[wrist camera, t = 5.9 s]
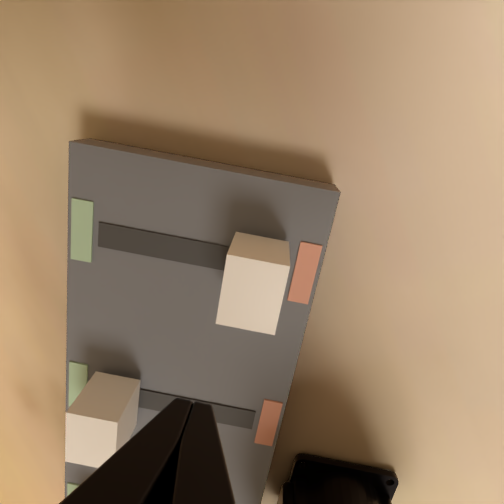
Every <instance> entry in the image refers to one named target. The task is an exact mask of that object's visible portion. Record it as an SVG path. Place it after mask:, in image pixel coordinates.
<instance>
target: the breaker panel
mask: <svg viewBox="0 0 504 504" xmlns="http://www.w3.org/2000/svg"><path fill="white" fill-rule="evenodd" d="M340 193H341V192H340V191H339V190H338V188H337V187H336V186H335V185H334V184H329V183H324V182H318V181H313V180H308V179H302V178H297V177H292V176H287V175H281V174H276V173H271V172H265V171H260V170H255V169H249V168H244V167H239V166H233V165H228V164H223V163H218V162H212V161H207V160H202V159H196V158H191V157H186V156H180V155H175V154H170V153H165V152H159V151H154V150H149V149H143V148H138V147H133V146H127V145H122V144H117V143H112V142H106V141H101V140H96V139H82V140H74V141H69V180H68V268H67V355H66V412H67V410H68V409H69V407H70V406H71V405H72V403H73V402H74V401H75V399H76V398H77V397H78V395H79V394H80V392H81V391H82V390H83V388H84V387H85V386H86V384H87V383H88V381H89V380H90V379H91V377H92V376H93V375H94V373H95V372H96V371H97V372H102V373H107V374H112V375H117V376H122V377H128V378H133V379H138V380H140V391H139V402H138V413H137V424H136V426H135V428H134V430H133V433H132V435H131V437H130V439H131V438H132V437H133V436H134V435H135V434H136V433H137V432H138V431H140V430H141V429H142V428H143V427H144V426H145V425H146V424H147V423H148V422H149V421H151V420H152V419H153V418H154V417H155V416H156V415H157V414H158V413H159V412H160V411H162V410H163V409H164V408H165V407H166V406H167V405H168V404H169V403H170V402H171V401H173V400H174V399H175V398H183V399H189V400H192V401H193V404H194V402H196V401H199V402H205V403H210V404H211V405H212V406H213V410H214V414H215V419H216V423H217V427H218V431H219V435H220V440H221V444H222V448H223V452H224V457H225V461H226V465H227V469H228V473H229V478H230V482H231V486H232V490H233V494H234V499H235V503H236V504H261V500H262V497H263V493H264V489H265V485H266V481H267V477H268V473H269V469H270V465H271V461H272V458H273V454H274V450H275V446H276V442H277V438H278V434H279V430H280V426H281V422H282V419H283V415H284V411H285V407H286V403H287V399H288V395H289V391H290V387H291V384H292V380H293V376H294V372H295V368H296V364H297V360H298V356H299V352H300V348H301V345H302V341H303V337H304V333H305V329H306V325H307V321H308V317H309V313H310V309H311V306H312V302H313V298H314V294H315V290H316V286H317V282H318V278H319V274H320V270H321V267H322V263H323V259H324V255H325V251H326V247H327V243H328V239H329V235H330V232H331V228H332V224H333V220H334V216H335V212H336V208H337V204H338V200H339V196H340ZM236 232H241V233H246V234H251V235H256V236H262V237H267V238H272V239H277V240H283V241H288V242H289V252H290V270H289V274H288V279H287V283H286V288H285V292H284V296H283V301H282V305H281V310H280V314H279V318H278V323H277V327H276V332H275V335H271V334H266V333H260V332H255V331H250V330H245V329H240V328H235V327H229V326H224V325H219V324H216V318H217V312H218V306H219V299H220V293H221V287H222V281H223V275H224V269H225V263H226V257H227V253H228V250H229V248H230V245H231V243H232V240H233V238H234V235H235V233H236ZM130 439H129V440H130ZM97 469H98V468H96V467H90V466H85V465H80V464H75V463H70V462H65V498H66V497H67V496H68V495H69V494H70V493H71V492H72V491H73V490H75V489H76V488H77V487H78V486H79V485H80V484H81V483H82V482H83V481H84V480H86V479H87V478H88V477H89V476H90V475H91V474H92V473H93V472H94V471H95V470H97Z"/></svg>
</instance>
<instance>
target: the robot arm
mask: <svg viewBox="0 0 504 504" xmlns="http://www.w3.org/2000/svg"><path fill="white" fill-rule="evenodd" d="M301 462H305V463H301ZM389 479H390V480H389ZM397 486H398V478H397V476H396V474H395V473H394V472H392V471H388V470H383V469H378V468H373V467H368V466H363V465H358V464H353V463H347V462H342V461H337V460H332V459H327V458H322V457H317V456H312V455H307V454H299V455H297V456H296V457H295V460H294V463H293V467H292V470H291V474H290V477H289V481H285V482H284V483H283V484H282V487H281V491H280V495H279V498H278V502H277V504H392V503H391V500H392V498H393V495H394V493H395V491H396V488H397ZM59 504H236V503H235V499H234V494H233V490H232V486H231V482H230V478H229V473H228V469H227V465H226V461H225V457H224V452H223V448H222V444H221V440H220V435H219V431H218V427H217V423H216V419H215V414H214V410H213V406H212V405H211V404H210V403H205V402H199V401H196V402H194V404H193V401H192V400H189V399H183V398H175V399H174V400H173V401H171V402H170V403H169V404H168V405H167V406H166V407H165V408H164V409H163V410H162V411H160V412H159V413H158V414H157V415H156V416H155V417H154V418H153V419H152V420H151V421H149V422H148V423H147V424H146V425H145V426H144V427H143V428H142V429H141V430H140V431H138V432H137V433H136V434H135V435H134V436H133V437H132V438H131V439H130V440H129V441H127V442H126V443H125V444H124V445H123V446H122V447H121V448H120V449H119V450H118V451H116V452H115V453H114V454H113V455H112V456H111V457H110V458H109V459H108V460H107V461H105V462H104V463H103V464H102V465H101V466H100V467H99V468H98V469H97V470H95V471H94V472H93V473H92V474H91V475H90V476H89V477H88V478H87V479H86V480H84V481H83V482H82V483H81V484H80V485H79V486H78V487H77V488H76V489H75V490H73V491H72V492H71V493H70V494H69V495H68V496H67V497H66V498H65V499H64V500H62V501H61V502H60V503H59Z"/></svg>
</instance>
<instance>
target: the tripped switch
mask: <svg viewBox="0 0 504 504" xmlns="http://www.w3.org/2000/svg"><path fill="white" fill-rule="evenodd" d="M289 270H290V252H289V242H288V241H283V240H277V239H272V238H267V237H262V236H256V235H251V234H246V233H241V232H236V233H235V235H234V238H233V240H232V243H231V245H230V248H229V250H228V253H227V257H226V263H225V269H224V275H223V281H222V287H221V293H220V299H219V306H218V312H217V318H216V324H219V325H224V326H229V327H235V328H240V329H245V330H250V331H255V332H260V333H266V334H271V335H275V332H276V327H277V323H278V318H279V314H280V310H281V305H282V301H283V296H284V292H285V288H286V283H287V279H288V274H289Z"/></svg>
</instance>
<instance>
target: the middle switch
mask: <svg viewBox="0 0 504 504" xmlns="http://www.w3.org/2000/svg"><path fill="white" fill-rule="evenodd" d="M139 391H140V380H138V379H133V378H128V377H122V376H117V375H112V374H107V373H102V372H97V371H96V372H95V373H94V375H93V376H92V377H91V379H90V380H89V381H88V383H87V384H86V386H85V387H84V388H83V390H82V391H81V392H80V394H79V395H78V397H77V398H76V399H75V401H74V402H73V403H72V405H71V406H70V407H69V409H68V410H67V412H66V442H65V462H70V463H75V464H80V465H85V466H90V467H96V468H99V467H100V466H101V465H102V464H103V463H104V462H105V461H107V460H108V459H109V458H110V457H111V456H112V455H113V454H114V453H115V452H116V451H118V450H119V449H120V448H121V447H122V446H123V445H124V444H125V443H126V442H127V441H129V439H130V437H131V435H132V433H133V430H134V428H135V426H136V424H137V413H138V402H139Z"/></svg>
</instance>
